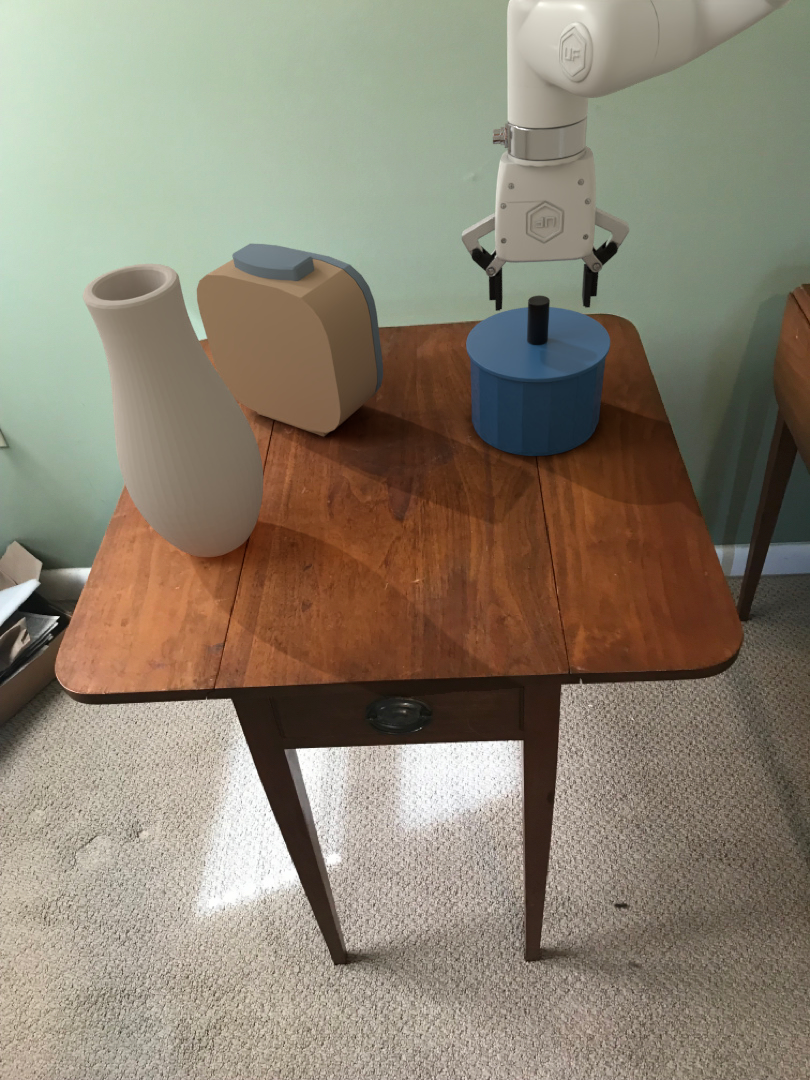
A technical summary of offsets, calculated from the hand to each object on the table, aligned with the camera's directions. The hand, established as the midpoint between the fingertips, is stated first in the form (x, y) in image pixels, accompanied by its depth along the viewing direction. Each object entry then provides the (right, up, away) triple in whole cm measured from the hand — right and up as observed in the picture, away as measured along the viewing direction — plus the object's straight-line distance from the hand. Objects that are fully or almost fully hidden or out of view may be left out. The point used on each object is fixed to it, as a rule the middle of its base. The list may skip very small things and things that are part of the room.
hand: (542, 303), depth 86 cm
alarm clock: (-28, -9, +17) cm, 34 cm away
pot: (+1, -11, +11) cm, 16 cm away
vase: (-36, -26, 0) cm, 45 cm away
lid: (0, -4, +4) cm, 5 cm away
